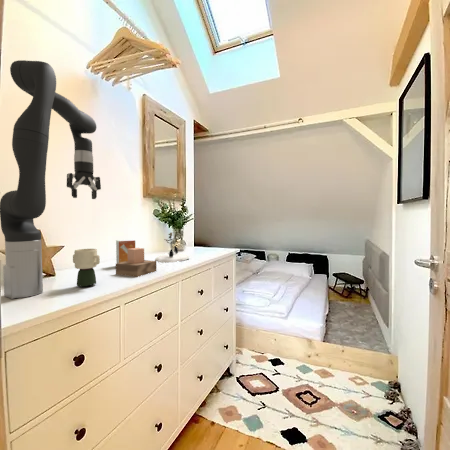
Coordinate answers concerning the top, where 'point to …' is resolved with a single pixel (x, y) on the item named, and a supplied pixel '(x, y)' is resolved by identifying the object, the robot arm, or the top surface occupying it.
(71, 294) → the top surface
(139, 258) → the terracotta block
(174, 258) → the figurine
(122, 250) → the small box
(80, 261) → the character mug
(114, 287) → the top surface
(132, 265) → the walnut block
